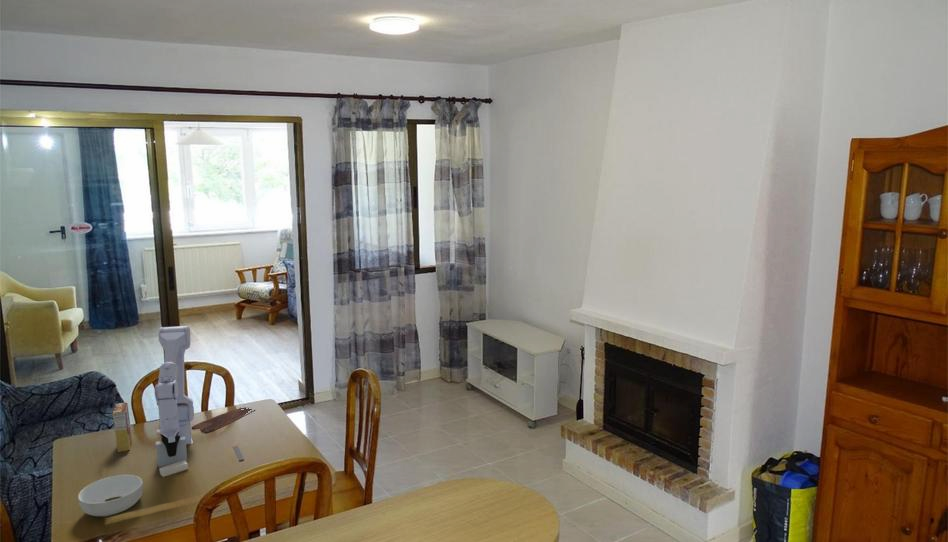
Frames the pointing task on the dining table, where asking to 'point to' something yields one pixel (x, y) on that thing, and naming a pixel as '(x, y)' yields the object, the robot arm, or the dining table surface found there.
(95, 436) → the dining table surface
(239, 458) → the grey mat
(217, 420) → the wooden tablet
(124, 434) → the candy box
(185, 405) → the robot arm
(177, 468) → the upper offcut
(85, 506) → the cereal bowl
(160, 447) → the pale grey rectangular block
